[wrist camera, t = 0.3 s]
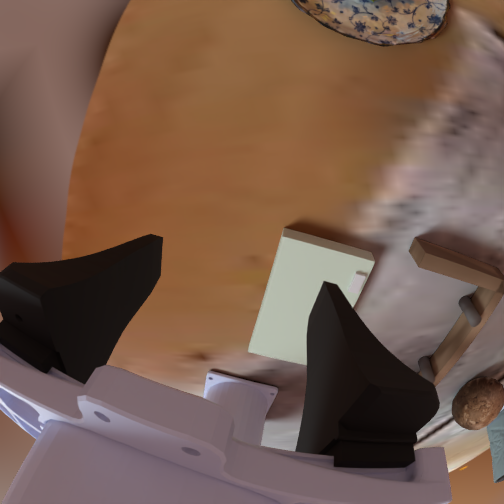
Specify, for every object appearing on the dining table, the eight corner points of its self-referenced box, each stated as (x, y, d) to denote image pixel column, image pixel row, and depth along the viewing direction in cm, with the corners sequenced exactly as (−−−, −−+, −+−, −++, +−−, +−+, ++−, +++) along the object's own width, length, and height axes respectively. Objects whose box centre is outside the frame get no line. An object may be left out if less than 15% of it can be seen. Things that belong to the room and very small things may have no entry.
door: (319, 352, 28) (320, 370, 26) (251, 336, 28) (247, 353, 26) (369, 249, 22) (375, 263, 20) (284, 225, 22) (282, 238, 20)
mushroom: (509, 402, 24) (505, 432, 20) (461, 413, 30) (451, 441, 26) (504, 357, 25) (501, 385, 21) (452, 371, 31) (442, 398, 27)
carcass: (416, 385, 28) (421, 405, 25) (339, 375, 28) (340, 397, 26) (497, 268, 20) (512, 286, 17) (414, 237, 20) (427, 256, 18)
